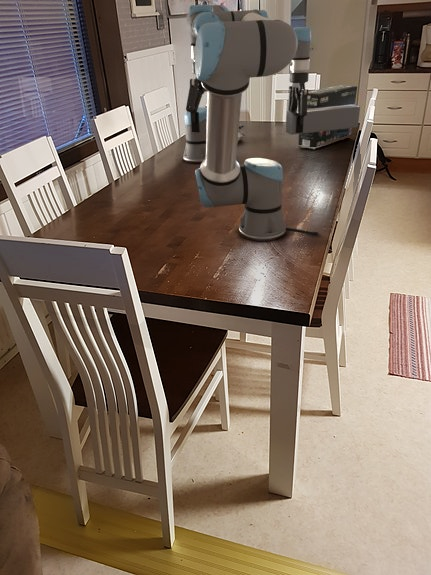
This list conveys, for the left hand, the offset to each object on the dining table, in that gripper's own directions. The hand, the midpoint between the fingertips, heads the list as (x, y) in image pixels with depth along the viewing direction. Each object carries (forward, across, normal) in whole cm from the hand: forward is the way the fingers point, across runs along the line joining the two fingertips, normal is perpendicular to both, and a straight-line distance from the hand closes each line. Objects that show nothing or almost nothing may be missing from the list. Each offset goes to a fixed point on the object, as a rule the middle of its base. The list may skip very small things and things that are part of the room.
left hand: (296, 131), depth 195 cm
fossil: (+17, -65, -10) cm, 68 cm away
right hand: (-10, +24, -46) cm, 53 cm away
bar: (+1, 0, +12) cm, 12 cm away
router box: (+17, -39, +36) cm, 56 cm away
